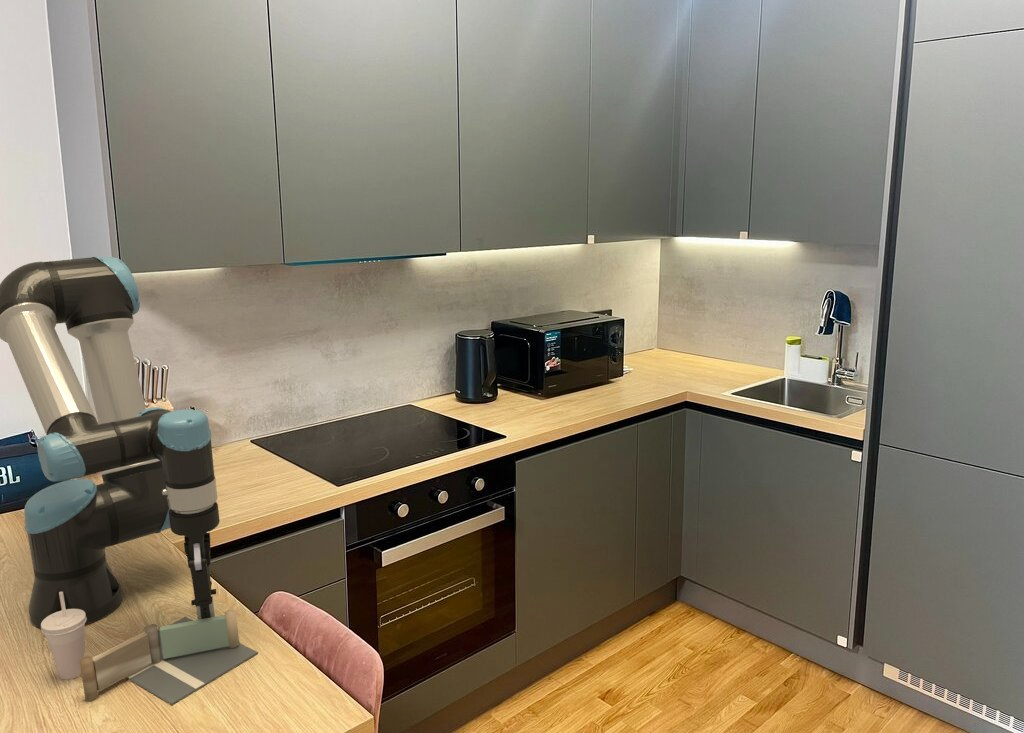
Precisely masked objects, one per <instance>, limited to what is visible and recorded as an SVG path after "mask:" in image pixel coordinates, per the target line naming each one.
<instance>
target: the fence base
mask: <svg viewBox="0 0 1024 733" xmlns="http://www.w3.org/2000/svg"><path fill="white" fill-rule="evenodd" d="M143 630H144V632H143V631H142V632H141V633H139V634H137V635H136V636H133V637H131V638H129V639H126V640H125V641H123V642H121V643H119V644H117V645H115V646H113V647H111V648H108V649H107V650H105V651H103V652H101V653H99V654H97V655H95V656H94V657H92V656H91V655H87V656H86V655H85V657H83V658H82V659H80V660H79V663H80V669H81V675H80V676H81V680H82V687H83V688H82V689H83V693H84V699H85V701H86V702H93V701H96V700H97V699H98V698H99V692H100V691H103V690H105V689H107V688H108V687H110V686H112V685H114V684H115V683H117V682H120V681H121V680H122V679H126V678H125V677H127V676H128V675H130V674H132V673H134V672H136V671H138V670H140V669H141V668H143V667H145V666H147V665H149V664H158V663H160V662H161V661H162V655H161V647H160V640H159V633H158V630H159V626H158V624H156V623H155V624H154V623H152V624H151V623H150V624H148V625H146V626H145V627H144V628H143Z"/></svg>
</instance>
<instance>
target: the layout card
mask: <svg viewBox="0 0 1024 733" xmlns="http://www.w3.org/2000/svg"><path fill="white" fill-rule="evenodd" d="M189 621H194V619H192V618H189V617H187V616H184V617H182V618H180V619H178V620H175V621H174V622H172V623H170V624H169V625H173V624H178V623H184V622H189ZM158 633H159V640H160V647H161V655H162V661H161V662H160V663H158V664H149V665H147V666H145V667H143V668H141V669H140V670H138V671H136V672H134V673H132V674H130V675H128V676H127V677H125V678H124V679H126V680H128V681H130V682H132V683H134V684H135V685H137V686H138V687H140V688H142V689H144V690H145V691H147V692H149V694H150V693H151V695H153V696H156V697H157V698H158V699H160V700H162V701H164V702H165V703H166V704H168V705H170V706H173V705H176V704H177V703H179V702H180V701H182V700H184V699H185V698H187V697H188V696H190V695H191V694H193V693H195V692H197V691H199V690H200V689H202V688H203V687H205V686H206V685H208V684H210V683H211V682H213V681H215V680H217V679H219V678H220V677H222V676H224V675H225V674H227V673H228V672H230V671H231V670H234V669H236V668H237V667H238V666H239V667H240V665H241V664H244V663H245V662H247V661H249V660H250V659H253V657H255V656H256V655H259V652H258V651H257V650H254V649H253V648H250V647H249V646H248V645H247V646H246V645H244V644H242V643H240V642H239V646H237V647H235V648H229V647H228V646H227V647H222V648H217V649H212V650H207V651H202V652H197V653H191V654H186V655H181V656H176V657H171V658H166V659H164V658H163V651H162V643H161V636H160V629H158Z"/></svg>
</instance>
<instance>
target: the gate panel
mask: <svg viewBox="0 0 1024 733" xmlns="http://www.w3.org/2000/svg"><path fill="white" fill-rule="evenodd" d="M193 620H194V619H193ZM238 629H239V628H238V620H237V611H236V610H235V609H228V610H226V611H225V612H224V614H223V615H217V616H216V615H215V617H211V618H205V619H200V620H198V619H195V620H194V621H189V622H184V623H178V624H173V625H170V624H167V625H163V626H162V625H161V626H160V627H159V630H160V636H161V643H162V651H163V658H164V659H166V658H171V657H176V656H181V655H186V654H191V653H197V652H202V651H207V650H212V649H217V648H222V647H227V646H228V647H229V648H235V647H237V646H239V643H240V639H239V638H240V636H239V630H238Z"/></svg>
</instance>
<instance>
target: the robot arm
mask: <svg viewBox="0 0 1024 733" xmlns="http://www.w3.org/2000/svg"><path fill="white" fill-rule="evenodd" d="M139 298H140V293H139V288H138V286H137V282H136V280H135V277H134V275H133V273H132V272H131V270H130V268H129V267H128V265H126V264H125V262H124V261H123V260H121V259H120V258H118V257H114V256H105V257H101V256H99V257H98V256H92V257H83V258H81V257H80V258H72V259H71V258H70V259H63V260H62V259H61V260H52V261H51V260H50V261H35V262H29V263H26V264H24V265H21V266H19V267H16V269H14V270H12V271H11V272H10V273H9V274H7V275H6V276H5V277H4V279H3V280H2V281H1V282H0V339H1V341H2V342H6V343H7V344H8V347H9V350H10V352H11V354H12V356H13V359H14V361H15V363H16V367H17V369H18V370H19V374H20V376H21V378H22V380H23V382H24V386H25V387H26V389H27V392H28V395H29V397H30V399H31V401H32V404H33V407H34V408H35V411H36V414H37V416H38V418H39V421H40V423H41V426H42V428H43V431H44V433H45V435H42V436H41V437H39V439H38V440H37V447H36V448H37V454H38V460H39V463H40V468H41V470H42V474H44V476H45V478H46V479H48V480H49V481H50V482H54V484H52V485H49V486H46V487H45V488H42V489H41V490H39V491H38V492H36V493H35V494H34V495H32V496H31V497H30V498H29V499H28V500H27V502H26V503H25V505H24V510H23V512H24V513H23V514H24V530H25V532H26V535H27V540H28V545H29V551H30V556H31V557H30V558H31V563H32V569H33V573H34V575H33V576H34V581H33V586H32V590H31V594H30V599H29V605H28V613H29V619H30V622H31V624H32V625H33V626H35V627H36V628H38V629H41V623H42V621H43V620H44V619H45V618H46V617H48V616H49V615H51V614H53V613H55V612H58V611H62V608H61V602H60V596H59V592H63V595H64V601H65V607H66V609H80V610H83V611H84V612H85V614H86V618H87V620H86V622H85V626H86V625H89V624H92V623H94V622H97V621H98V620H101V619H103V618H105V617H107V616H108V615H111V613H113V612H114V611H115V610H116V609H117V608H118V607H119V606H120V605H121V603H122V601H123V591H122V587H121V584H120V582H119V581H118V578H117V577H116V575H115V574H114V572H113V570H112V569H111V567H110V565H109V564H108V562H107V556H106V548H108V547H112V546H115V545H116V546H117V545H119V544H122V543H125V542H129V541H133V540H137V539H139V538H142V537H147V536H149V535H153V534H160V533H162V532H163V531H166V530H168V529H170V530H171V532H172V533H173V534H174V535H176V536H181V537H182V536H183V538H184V543H183V546H184V554H185V555H186V558H187V566H188V568H189V569H190V575H191V582H192V589H193V596H194V599H191V602H190V605H191V606H194V607H195V609H196V617H197V618H196V620H200V619H205V618H211V617H216V615H215V614H216V613H215V612H216V611H215V604H214V597H213V595H217V588H213V589H212V585H213V583H212V582H213V581H212V579H211V571H210V570H211V569H210V565H211V534H210V532H211V531H213V530H215V529H216V528H217V527H218V525H219V524H220V512H219V504H218V502H217V501H218V489H217V482H216V476H215V467H214V458H213V447H212V430H211V429H210V423H209V419H208V416H207V414H206V413H205V412H203V411H201V410H200V409H195V410H194V409H192V408H191V409H189V408H187V409H186V408H185V409H175V410H169V409H166V408H163V407H160V406H159V407H158V406H156V407H155V406H153V407H146V402H145V399H144V395H143V394H144V393H143V390H142V385H141V382H140V377H139V373H138V369H137V365H136V361H135V357H134V353H133V352H134V351H133V350H132V344H131V340H130V336H129V330H130V329H131V327H132V325H133V324H135V323H134V322H135V320H134V315H135V314H137V313H138V312H140V307H141V302H140V299H139ZM57 324H65V325H66V331H67V334H68V335H69V336H71V337H72V338H74V339H76V340H78V342H79V347H80V351H81V355H82V360H83V362H84V367H85V371H86V375H87V379H88V384H89V389H90V393H91V397H92V402H93V405H94V409H95V410H94V411H95V413H94V411H93V409H92V406H91V404H90V402H89V400H88V398H87V396H86V394H85V391H84V388H83V387H82V384H81V383H80V380H79V378H78V376H77V374H76V372H75V368H73V365H72V363H71V361H70V358H69V356H68V354H67V352H66V351H65V348H64V346H63V344H62V342H61V339H60V337H59V335H58V333H57V330H56V329H55V328H56V326H57ZM95 414H96V415H95ZM98 473H101V478H102V483H99V484H96V483H95V482H94V481H93V480H92V479H89V478H83V477H86V476H91V475H94V474H98ZM55 482H57V483H55Z"/></svg>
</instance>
